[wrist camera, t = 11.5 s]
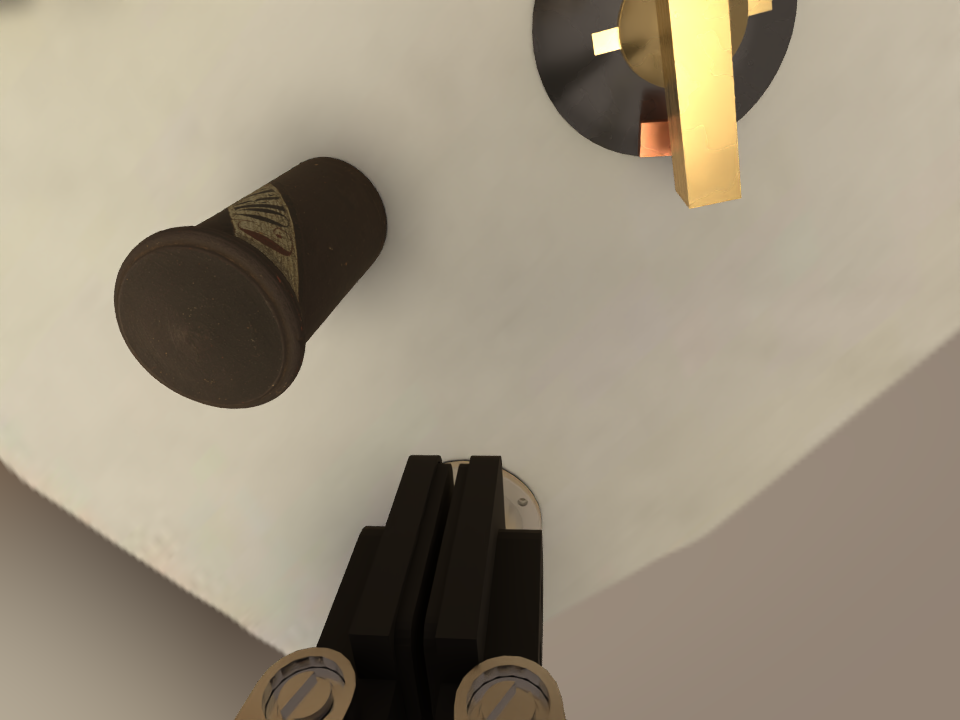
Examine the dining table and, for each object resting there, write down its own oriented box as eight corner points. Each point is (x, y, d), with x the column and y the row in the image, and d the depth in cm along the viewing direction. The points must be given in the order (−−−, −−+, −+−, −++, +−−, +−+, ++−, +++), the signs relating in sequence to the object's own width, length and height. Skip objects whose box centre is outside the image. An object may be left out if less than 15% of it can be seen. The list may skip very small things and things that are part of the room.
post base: (772, 148, 41) (804, 165, 36) (535, 159, 43) (533, 177, 37) (811, -145, 34) (859, -178, 29) (529, -118, 36) (525, -144, 31)
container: (370, 140, 43) (242, 216, 26) (408, 265, 47) (320, 407, 29) (254, 170, 45) (60, 260, 27) (300, 288, 49) (156, 435, 31)
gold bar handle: (756, -200, 29) (802, -253, 23) (771, 161, 35) (810, 184, 30) (564, -140, 30) (567, -176, 25) (614, 194, 37) (624, 221, 32)
